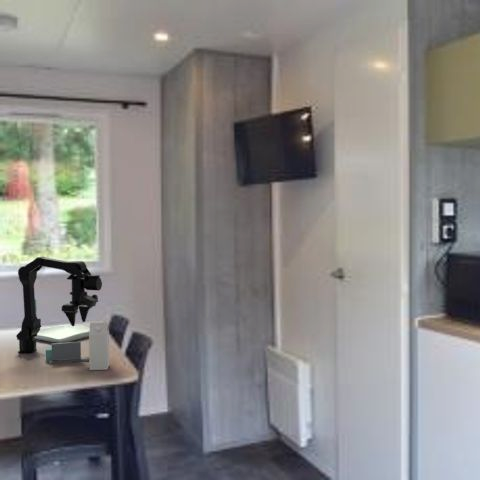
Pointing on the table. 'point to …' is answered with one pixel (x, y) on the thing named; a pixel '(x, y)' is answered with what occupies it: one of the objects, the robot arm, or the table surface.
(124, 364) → the table surface
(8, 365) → the table surface
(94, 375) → the table surface
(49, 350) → the cube
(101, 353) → the milk carton
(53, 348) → the screen
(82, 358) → the rail
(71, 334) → the square plate
